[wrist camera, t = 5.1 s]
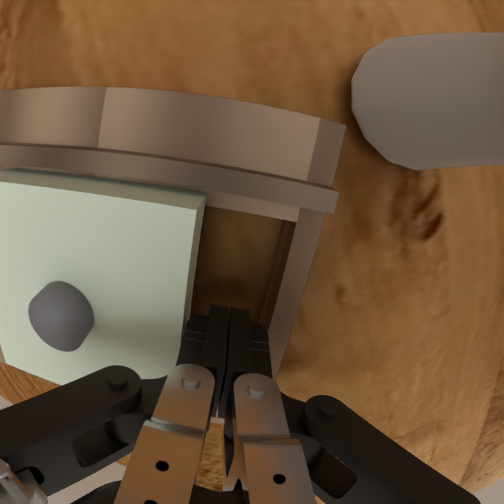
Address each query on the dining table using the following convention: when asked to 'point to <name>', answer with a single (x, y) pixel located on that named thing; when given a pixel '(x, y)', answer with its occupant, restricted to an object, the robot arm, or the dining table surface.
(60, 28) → the dining table surface
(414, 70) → the salt shaker
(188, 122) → the board
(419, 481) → the robot arm
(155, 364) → the cover
